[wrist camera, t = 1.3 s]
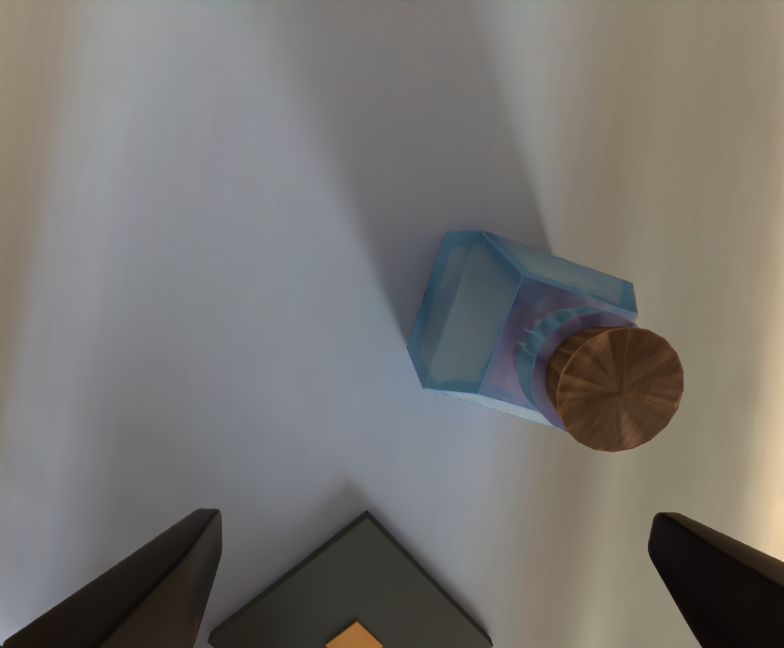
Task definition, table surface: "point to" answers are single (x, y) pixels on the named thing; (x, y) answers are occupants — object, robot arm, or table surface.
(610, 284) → the perfume bottle
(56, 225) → the table surface
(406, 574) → the mat
